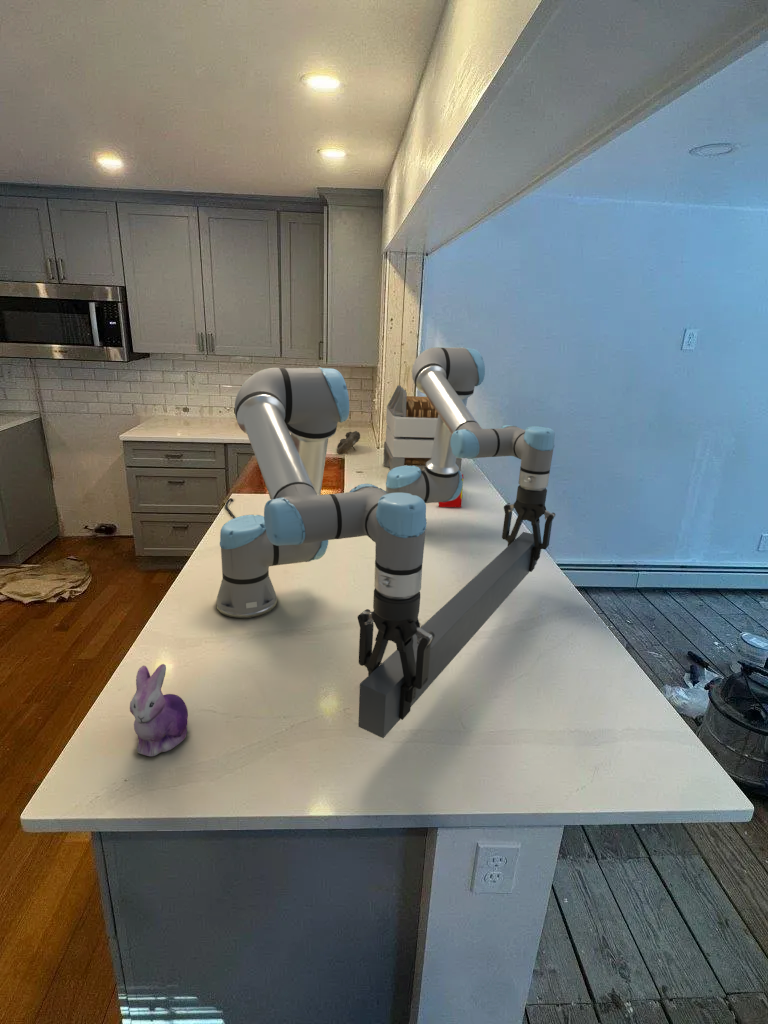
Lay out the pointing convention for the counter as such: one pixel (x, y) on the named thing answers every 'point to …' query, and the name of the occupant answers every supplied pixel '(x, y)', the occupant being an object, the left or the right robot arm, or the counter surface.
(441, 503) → the toy
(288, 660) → the counter surface
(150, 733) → the figurine
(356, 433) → the fossil
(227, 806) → the counter surface
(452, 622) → the beam
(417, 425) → the grey bottle crate
